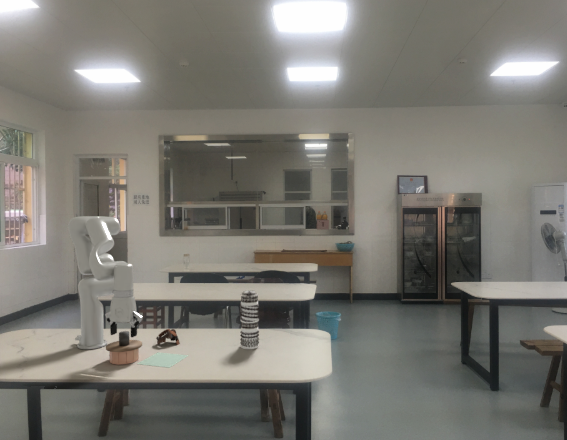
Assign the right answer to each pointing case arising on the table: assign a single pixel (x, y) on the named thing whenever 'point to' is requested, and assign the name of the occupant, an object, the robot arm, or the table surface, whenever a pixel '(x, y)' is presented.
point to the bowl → (124, 357)
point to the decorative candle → (249, 320)
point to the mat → (163, 359)
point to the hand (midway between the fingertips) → (123, 335)
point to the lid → (123, 343)
